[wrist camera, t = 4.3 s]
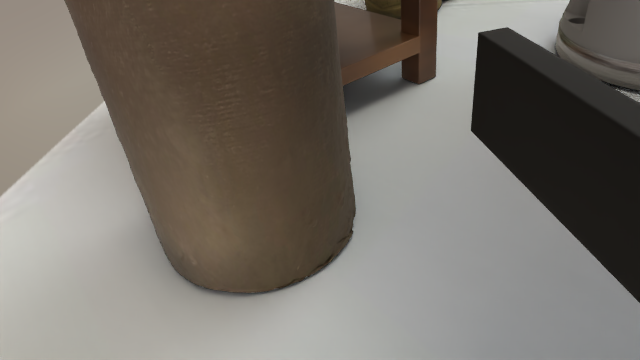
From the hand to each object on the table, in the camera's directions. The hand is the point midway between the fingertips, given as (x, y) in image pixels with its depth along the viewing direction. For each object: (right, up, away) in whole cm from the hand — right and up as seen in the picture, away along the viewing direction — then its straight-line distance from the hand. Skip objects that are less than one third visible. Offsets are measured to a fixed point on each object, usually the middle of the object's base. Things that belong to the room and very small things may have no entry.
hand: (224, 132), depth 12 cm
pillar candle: (-1, -3, +13) cm, 14 cm away
